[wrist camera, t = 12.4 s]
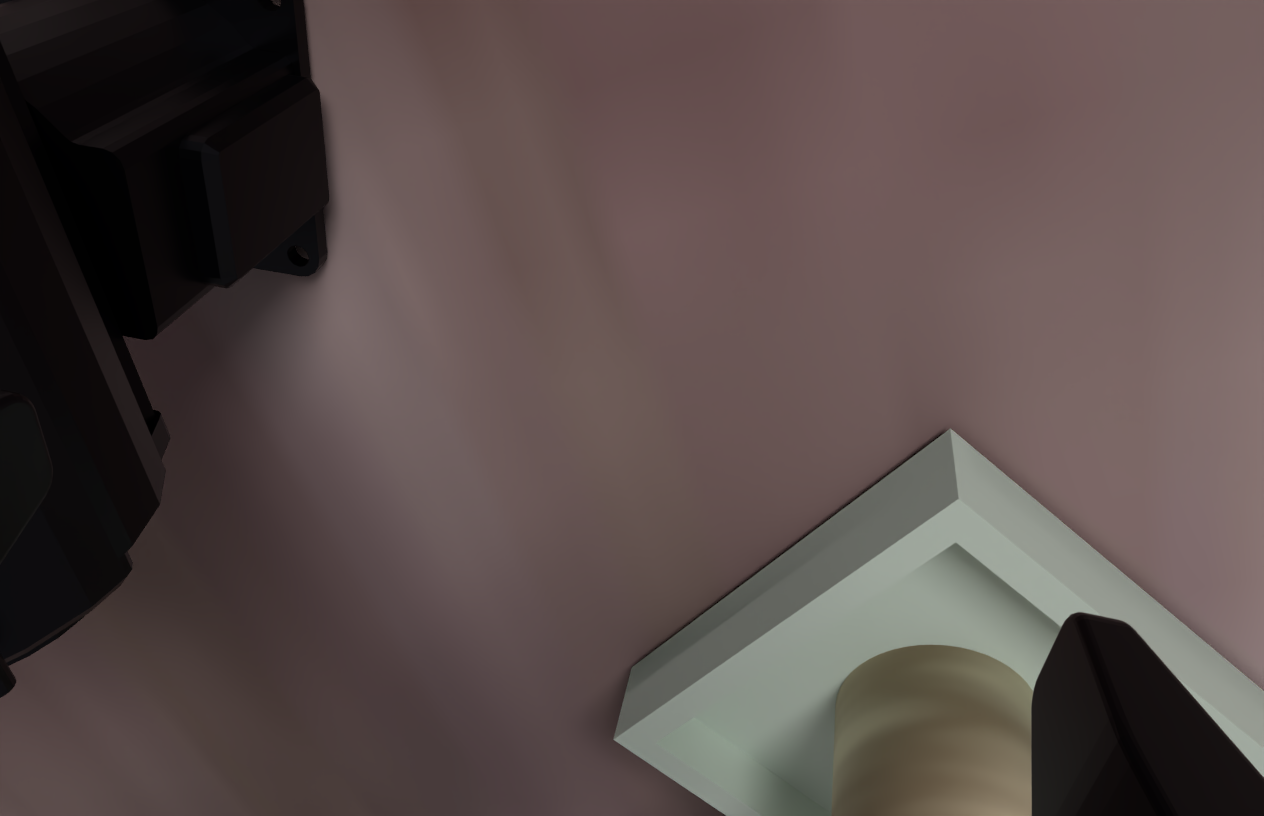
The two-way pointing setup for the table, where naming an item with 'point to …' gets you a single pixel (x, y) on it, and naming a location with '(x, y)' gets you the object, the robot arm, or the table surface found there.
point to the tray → (889, 631)
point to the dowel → (932, 736)
